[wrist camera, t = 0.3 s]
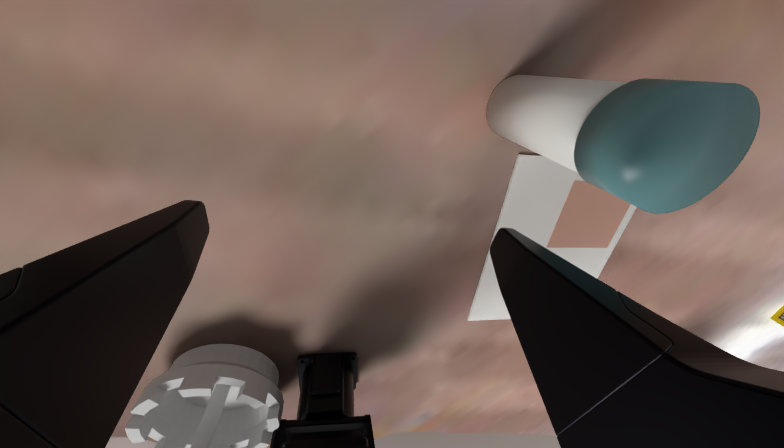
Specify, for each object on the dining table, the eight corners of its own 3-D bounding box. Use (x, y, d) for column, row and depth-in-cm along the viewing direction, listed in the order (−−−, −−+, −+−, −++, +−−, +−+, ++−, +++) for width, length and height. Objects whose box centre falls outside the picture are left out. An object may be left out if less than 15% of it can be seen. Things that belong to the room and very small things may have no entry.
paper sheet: (575, 314, 35) (577, 316, 35) (467, 319, 33) (468, 321, 33) (659, 162, 26) (662, 163, 26) (518, 154, 24) (520, 155, 24)
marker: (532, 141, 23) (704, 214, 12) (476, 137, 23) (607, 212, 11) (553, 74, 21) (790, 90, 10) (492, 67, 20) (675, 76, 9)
